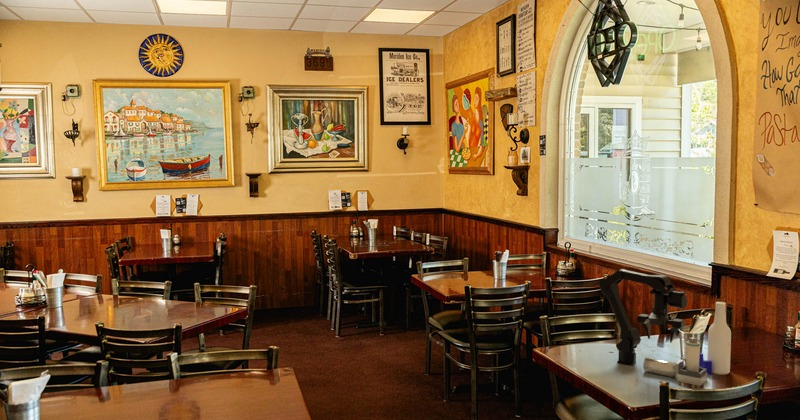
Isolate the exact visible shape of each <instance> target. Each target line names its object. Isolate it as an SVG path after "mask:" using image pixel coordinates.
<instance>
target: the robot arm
mask: <svg viewBox="0 0 800 420" xmlns="http://www.w3.org/2000/svg"><path fill="white" fill-rule="evenodd" d="M623 280H625V281H631V282H635V283H640V284H644V285H646V286H648V287H649V288H651V290H650V291H648V293H649V294H651V295H653V306H652V311H651V313H650V314H645V313H641V314H639V315H637V316H636V323H639V325H641V326H642V327H643V328H644V330H645V333H646V336H647V339H648V340H650V339H651V330H652V329H651V327H652V325H653V326H659V327H660V326H661V325H662V324H664V325H669V326H671V327H670V335H669V336H670V338H669V343H670V344H671V343H672V342H673V340H674V338H675V336H676V334H677V332H678V331H679V330H680V329H683V328H684V327H686V321H685V320H684V319H681V318H673V319H669V309H670V307H672V308H677V309H683V310H685V309H686V308H687V306H688V298H687V295H686V292H684V291H676V289H675V287H674V285H673V283H672V281H671V279H670V277H669V276H668V275H666V274H646V273H641V272H636V271H633V270H628V269H625V268H621V269H617V270H616V271H615V272H614V273H612V274H611V275H609V276H608V277H606V278H602V279H600V281H599V283H598V286H599V289H600V291H601V292H602V294H603V295H604V296H605V298H607V299H608V301H609V304H610V306H611V308H612V311H613V314H614V316H615V319H616V321H617V323H618V325H619V328H620V331H619V336H620V340H621V341H619V342H618V343H617V344H616V349H617V350H618V358H617V359H618V360H617V361H616V363H618V364H622V365H628V366H632V365H634V364H635V363H637V353H636V349H637V347H638V345H640V343H641V340H642V338H641V337H642V335H641V334H640V332H639V329H638V327H636V328H635V327H633V326H632V323H631V322H630V320H629V317H628V314H627V312H626V310H625V306H624V304H623V302H622V300H621V297H620V294H619V293H620V287H619V284H620V283H622V281H623Z"/></svg>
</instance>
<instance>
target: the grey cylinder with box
mask: <svg viewBox="0 0 800 420" xmlns="http://www.w3.org/2000/svg"><path fill="white" fill-rule="evenodd" d="M684 363H685V360H684V359H679V361H677V362H675V361H673V362H672V361H668V360H662V359H657V358H652V357H645V358H644V360H643V367H642V368H643V371H644V372H646V373H651V374H656V375H661V376H666V377H670V378H675V381H677V382H679V383H685V384H690V385H695V386H699V387H701V386H702V385H704V383H705V382H706V381H708V375H707V373H706V372H707V369H705V368H700V367H699V373H696V372H691V371H686V364H684Z"/></svg>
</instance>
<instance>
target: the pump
mask: <svg viewBox="0 0 800 420" xmlns="http://www.w3.org/2000/svg"><path fill="white" fill-rule="evenodd" d="M685 344H686V347H685V348H686V349H685V365H686V371H691V372H696V373H699V354H700V353H701V352H700V351H701V350H700V349H701V347H700V346H701V343H700V342H699V340H698V338H697V337H688V340H687V341H686V343H685Z"/></svg>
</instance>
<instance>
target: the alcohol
mask: <svg viewBox="0 0 800 420" xmlns="http://www.w3.org/2000/svg"><path fill="white" fill-rule="evenodd" d="M726 305H727V303H726V302H724V301H716V302H715V305H714V306H715V311H714V320H713V322H712V323H711V325H710V326H709V328H708V331H707V332H708V333H707V357H706V358H707V360H711V361H712V374H715V375H723V376H724V375H728V374H729V373H730V372H731V354H732V353H731V352H732V351H731V350H732V347H731V346H732V331H731V328H730V327H729V325H728V323H727V313H726V312H727V309H726Z"/></svg>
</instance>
